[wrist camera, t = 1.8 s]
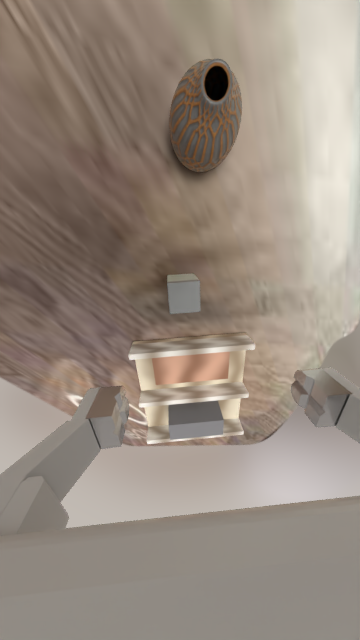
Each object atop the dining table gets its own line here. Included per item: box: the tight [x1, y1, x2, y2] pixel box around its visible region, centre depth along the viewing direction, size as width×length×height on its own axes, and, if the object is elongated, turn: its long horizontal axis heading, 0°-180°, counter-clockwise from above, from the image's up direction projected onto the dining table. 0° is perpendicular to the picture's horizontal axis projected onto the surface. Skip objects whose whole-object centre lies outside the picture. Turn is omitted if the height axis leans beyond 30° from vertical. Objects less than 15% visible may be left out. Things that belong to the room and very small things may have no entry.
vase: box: [169, 59, 242, 172], centre depth 17 cm, size 7×7×9 cm
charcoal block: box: [168, 400, 224, 440], centre depth 35 cm, size 10×4×5 cm, turn 93°
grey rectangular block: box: [167, 273, 200, 314], centre depth 25 cm, size 4×4×6 cm
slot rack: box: [129, 332, 255, 444], centre depth 34 cm, size 20×22×4 cm
